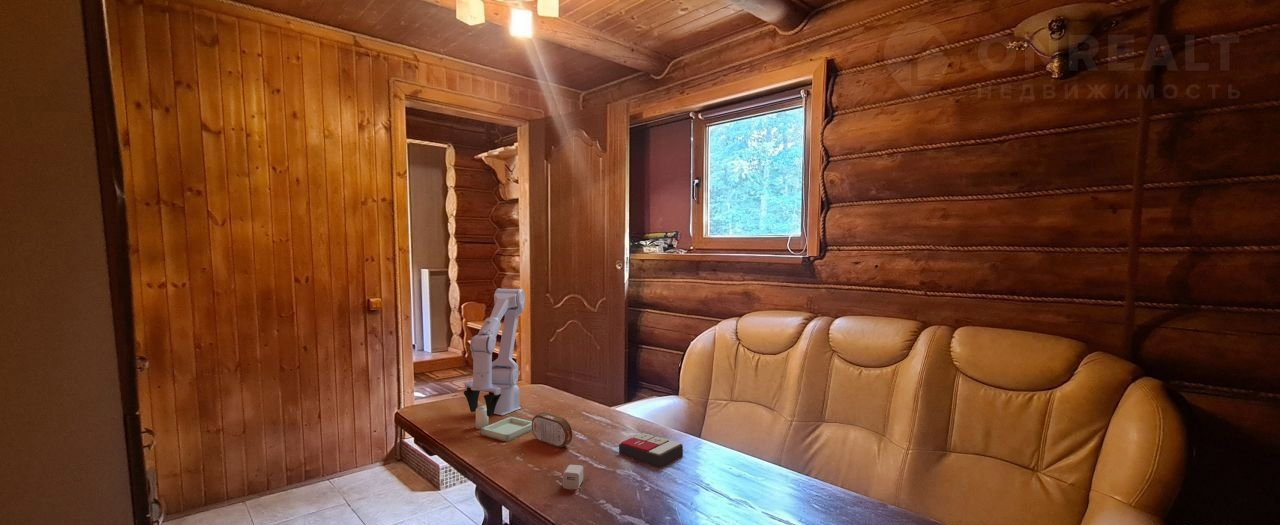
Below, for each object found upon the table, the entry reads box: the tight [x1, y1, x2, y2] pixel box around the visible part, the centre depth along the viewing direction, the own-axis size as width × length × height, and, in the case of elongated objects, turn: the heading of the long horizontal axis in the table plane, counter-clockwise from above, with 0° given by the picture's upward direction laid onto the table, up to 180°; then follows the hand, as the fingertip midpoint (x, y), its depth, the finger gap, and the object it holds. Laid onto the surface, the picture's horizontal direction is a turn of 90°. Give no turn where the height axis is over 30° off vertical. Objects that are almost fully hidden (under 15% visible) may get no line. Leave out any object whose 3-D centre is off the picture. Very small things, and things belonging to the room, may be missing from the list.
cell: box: [475, 405, 490, 430], centre depth 158 cm, size 4×4×6 cm
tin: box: [531, 411, 573, 449], centre depth 145 cm, size 15×3×8 cm, turn 55°
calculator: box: [618, 432, 684, 469], centre depth 138 cm, size 11×4×15 cm
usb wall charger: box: [562, 464, 584, 490], centre depth 120 cm, size 4×7×4 cm, turn 172°
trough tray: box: [480, 416, 533, 443], centre depth 154 cm, size 13×11×2 cm
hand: (481, 413), depth 157 cm, fingers open, 7 cm apart
